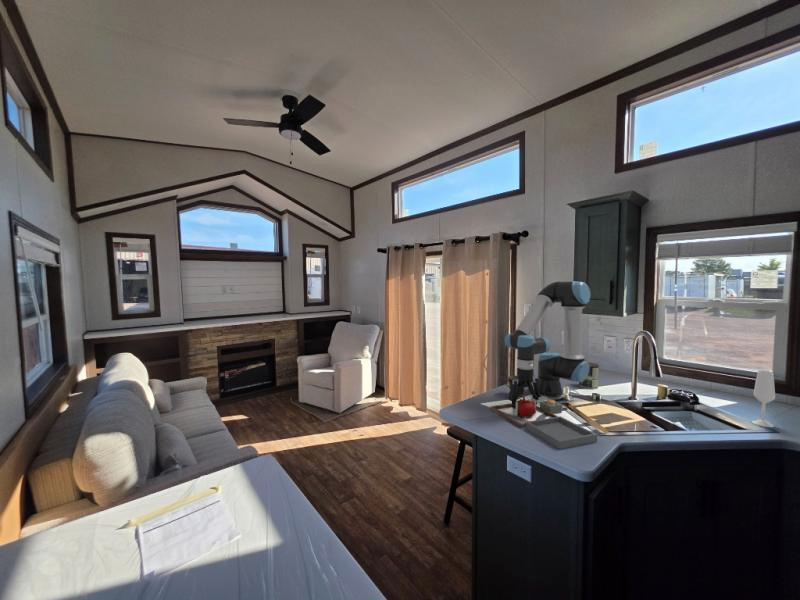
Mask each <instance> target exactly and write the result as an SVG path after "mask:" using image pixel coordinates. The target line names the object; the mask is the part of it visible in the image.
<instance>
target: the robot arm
mask: <svg viewBox="0 0 800 600" xmlns="http://www.w3.org/2000/svg"><path fill="white" fill-rule="evenodd" d="M590 299H591V290H590V288H589V286H588V284H587V283H586V282H583V281H576V280H574V281H555V282H551V283H549V284H548V285H546V286H545V287H543V288H542V289H541V290H540V291H539V292H538V293H537V295H536V297H535V301H534V303H533V304H532V306H531V307H530V309H529V310H528V312H527V313H526V315H525V316H524V317H523V319H522V320H521V322H520V323H519V325H518V326H517V327H516V329H515V331H514V332H513V333H508V334H507V335H506V336H505V337H504V344H505V346H506V347H507V348H509V349H511V350H517V357H516V367H517V368H516V376H518V378H517V380H512V385H511V389H510V388H509V393H508V397H507V400H509V401H510V402H511V403H512V407H511V409H512V415H514V416H516V417H519V416H518V402H516V401H518V400H519V399H518V398H520V397H519V395H520V393H521V391H522V390H523V388H524V389H525V388H527V390H528V391H529V393H530V395H531V398H530V401H531V402H533V403H534V405H535V408H536V406H538V401H539V399H540V398H541V397H542V396H546V397H553V398H554V397H561V396H563V393H564V392H563V391H564V390H563V388H562V387H563V386H562V384H561V381H560V379H563V380H567V381H570V382H575V383H579V382H582V381H584V380H585V379H586V377H587V376H588V373H589V364H588V361H585V358H586V357H585V356H584V355H583V354H582V349H583V348H582V343H583V341H582V335H583V333H582V332H583V331H582V330H583V309H585V308H586V304H588V303H589V302H590ZM556 303H559V304H560V307H561V308H562V309H563V352H562V353H559V352H549V351H550V349H551V342H550V340H549V339H548V338H546V337H534V336H533V335H532V334H533V332H534V330H535V329H536V327H537V326H538V324H539V323H540V321H541V320H542V318H543V317H544V315H545V314H546V312H547V310H548V309H549V308H552V306H553V305H554V304H556ZM538 354H539V355H538ZM535 355H538V357H537V358H538V360H537V377H535V376H534V370H535V369H534V367H535V366H534V365H535ZM519 386H520V387H519ZM536 413H537V410H536V411H535V413H534V414H536Z"/></svg>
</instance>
